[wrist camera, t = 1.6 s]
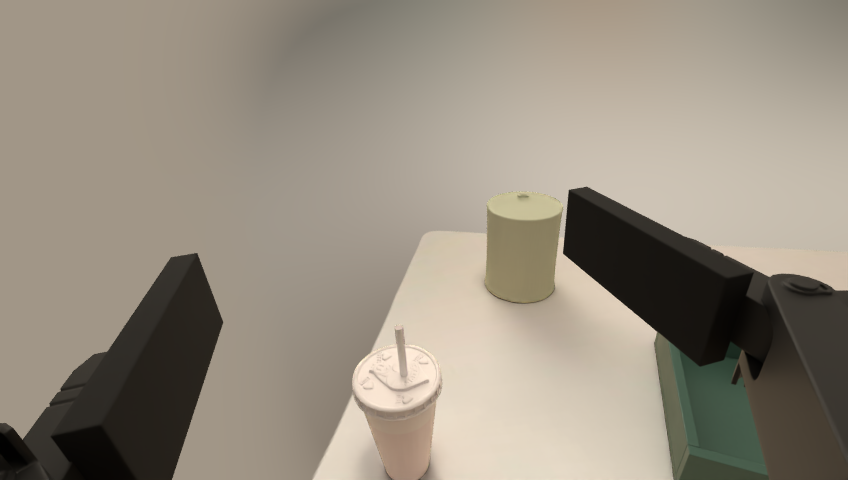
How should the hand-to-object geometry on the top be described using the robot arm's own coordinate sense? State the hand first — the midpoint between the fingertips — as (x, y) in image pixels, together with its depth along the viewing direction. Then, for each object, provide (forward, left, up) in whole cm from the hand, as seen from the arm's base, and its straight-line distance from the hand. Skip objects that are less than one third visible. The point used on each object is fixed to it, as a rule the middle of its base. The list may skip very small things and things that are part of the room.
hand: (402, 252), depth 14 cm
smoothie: (+7, +5, -24) cm, 26 cm away
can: (+36, +1, -24) cm, 43 cm away
